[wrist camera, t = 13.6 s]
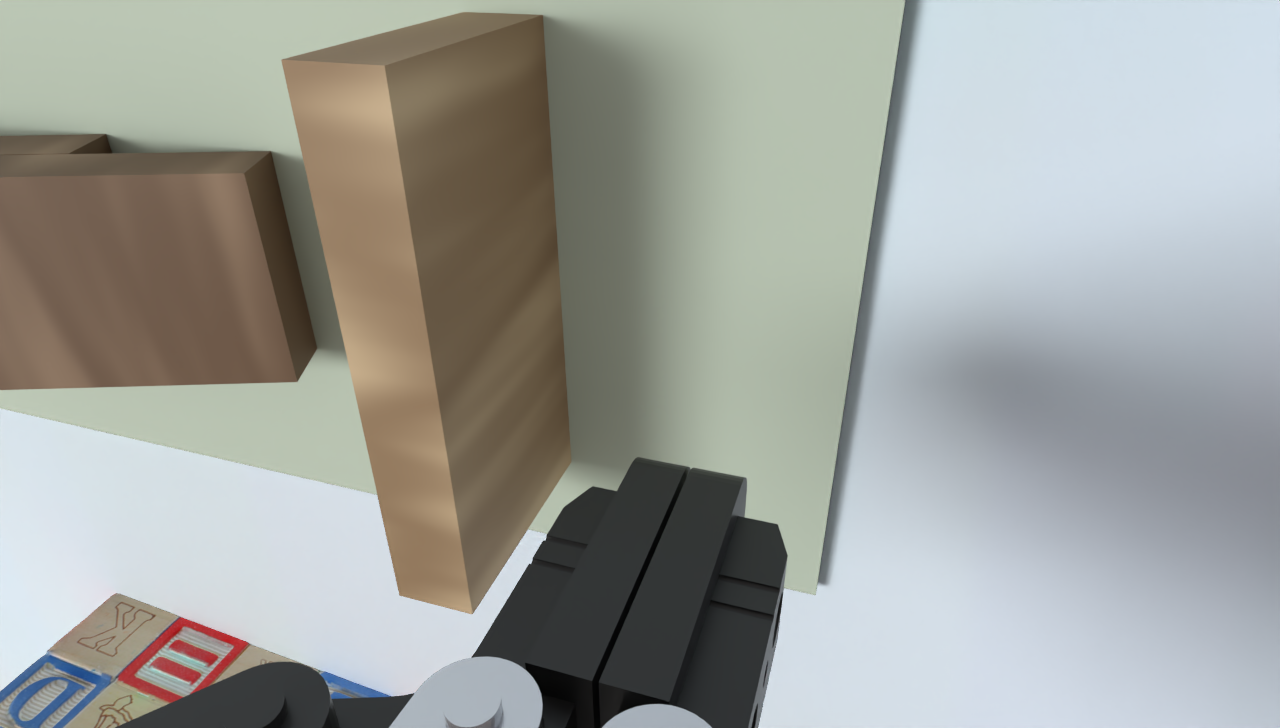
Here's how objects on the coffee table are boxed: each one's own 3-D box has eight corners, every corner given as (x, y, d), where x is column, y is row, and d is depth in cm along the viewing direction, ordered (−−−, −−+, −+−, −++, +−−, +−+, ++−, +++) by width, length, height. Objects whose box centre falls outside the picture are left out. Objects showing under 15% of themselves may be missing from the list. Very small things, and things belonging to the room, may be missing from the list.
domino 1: (244, 173, 16) (-271, 181, 16) (297, 382, 19) (-146, 394, 19) (271, 151, 18) (-202, 158, 17) (317, 348, 20) (-95, 359, 20)
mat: (941, -239, 11) (941, -242, 11) (817, 583, 20) (815, 595, 19) (-372, -184, 19) (-395, -185, 19) (-72, 383, 28) (-85, 388, 27)
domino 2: (384, 65, 10) (472, 614, 15) (542, 14, 14) (571, 462, 20) (280, 59, 11) (399, 594, 16) (463, 12, 15) (511, 450, 20)
